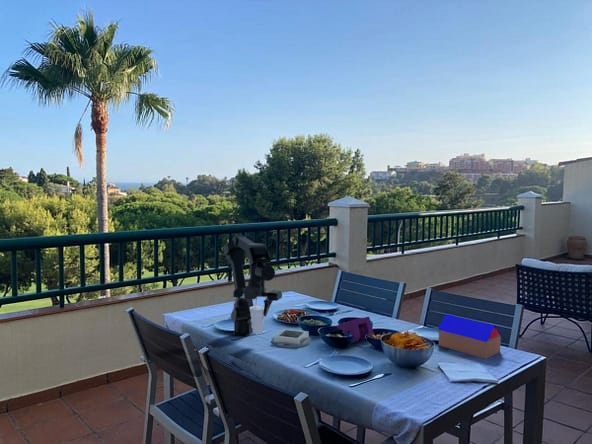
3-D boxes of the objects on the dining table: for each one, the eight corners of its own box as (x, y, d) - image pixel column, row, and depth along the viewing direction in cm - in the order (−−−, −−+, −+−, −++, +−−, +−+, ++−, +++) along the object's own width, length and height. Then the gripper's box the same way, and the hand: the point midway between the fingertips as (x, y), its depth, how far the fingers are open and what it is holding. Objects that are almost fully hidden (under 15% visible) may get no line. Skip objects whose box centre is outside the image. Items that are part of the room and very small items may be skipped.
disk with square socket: (265, 345, 181) (265, 337, 181) (280, 333, 196) (280, 326, 196) (304, 350, 176) (304, 342, 176) (316, 337, 191) (316, 330, 191)
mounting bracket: (332, 348, 195) (357, 341, 181) (326, 329, 197) (351, 320, 183) (349, 344, 200) (375, 336, 186) (343, 325, 203) (369, 316, 189)
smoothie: (249, 329, 184) (249, 295, 183) (265, 329, 184) (265, 294, 183) (249, 334, 177) (249, 298, 176) (266, 334, 178) (265, 298, 177)
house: (453, 339, 190) (454, 311, 189) (501, 352, 175) (502, 322, 174) (437, 345, 182) (438, 316, 181) (486, 360, 167) (487, 328, 166)
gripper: (226, 278, 175) (226, 318, 176) (271, 281, 169) (271, 323, 170) (239, 273, 185) (239, 311, 186) (282, 276, 179) (282, 315, 180)
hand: (257, 315), depth 180 cm, fingers closed on smoothie, 6 cm apart
